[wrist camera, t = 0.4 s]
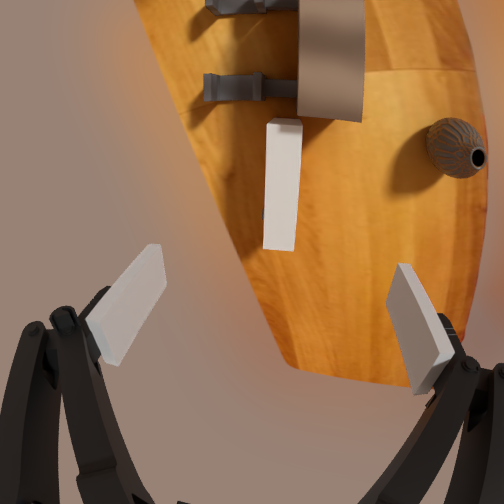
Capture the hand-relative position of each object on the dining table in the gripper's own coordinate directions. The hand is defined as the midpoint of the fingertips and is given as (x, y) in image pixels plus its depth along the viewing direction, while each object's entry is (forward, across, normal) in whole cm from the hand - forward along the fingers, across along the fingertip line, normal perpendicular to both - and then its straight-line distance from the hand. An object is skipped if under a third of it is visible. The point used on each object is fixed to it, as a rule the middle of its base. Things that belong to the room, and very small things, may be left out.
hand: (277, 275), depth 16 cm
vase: (+21, +19, +7) cm, 29 cm away
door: (+21, 0, +1) cm, 21 cm away
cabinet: (+21, -1, +16) cm, 26 cm away
